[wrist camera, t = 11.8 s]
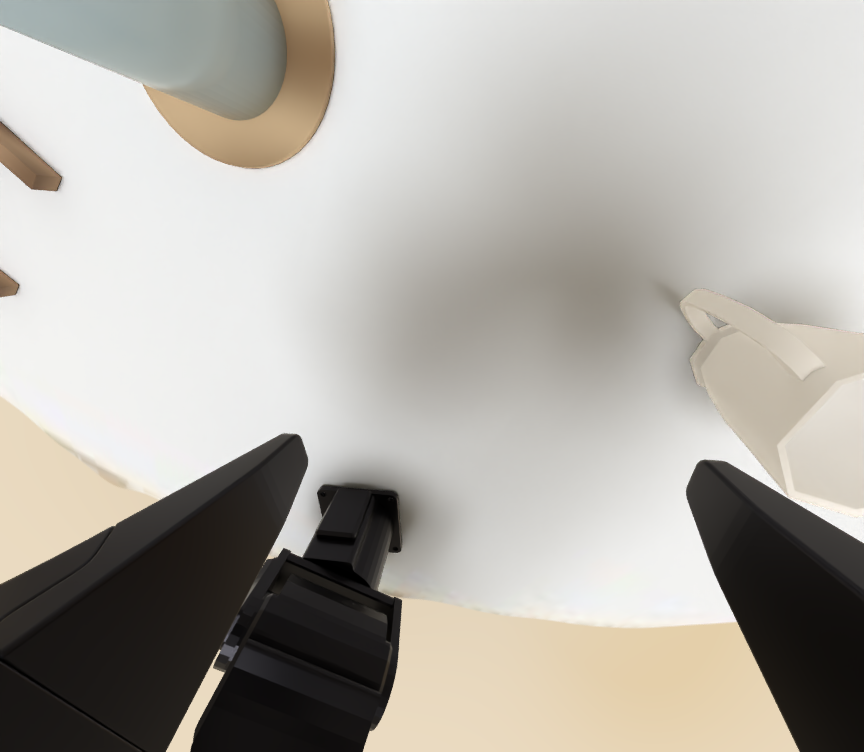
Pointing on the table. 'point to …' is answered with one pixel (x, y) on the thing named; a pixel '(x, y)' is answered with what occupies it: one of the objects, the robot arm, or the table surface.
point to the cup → (786, 397)
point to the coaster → (290, 112)
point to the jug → (170, 45)
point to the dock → (30, 171)
